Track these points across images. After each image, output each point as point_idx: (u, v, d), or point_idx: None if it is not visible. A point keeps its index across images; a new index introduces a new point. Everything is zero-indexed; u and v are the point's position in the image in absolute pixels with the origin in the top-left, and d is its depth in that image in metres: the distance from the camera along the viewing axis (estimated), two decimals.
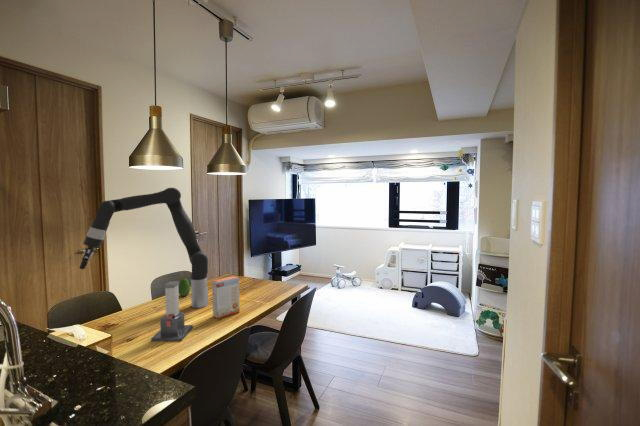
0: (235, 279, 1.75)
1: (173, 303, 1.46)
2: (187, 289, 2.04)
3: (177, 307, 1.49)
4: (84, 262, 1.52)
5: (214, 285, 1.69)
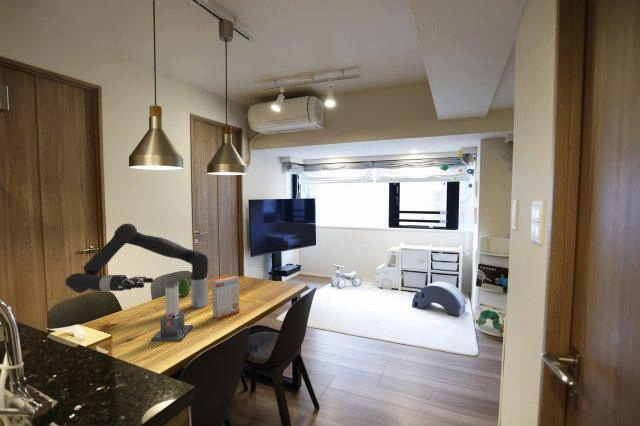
0: (235, 279, 1.75)
1: (173, 303, 1.46)
2: (187, 289, 2.04)
3: (177, 307, 1.49)
4: (134, 285, 1.42)
5: (214, 285, 1.69)
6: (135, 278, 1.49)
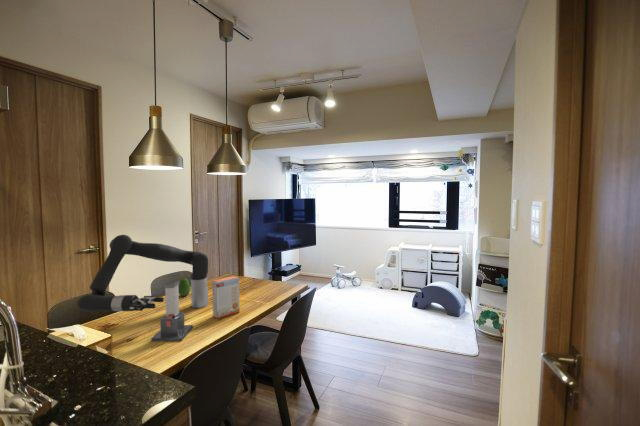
0: (235, 279, 1.75)
1: (173, 303, 1.46)
2: (187, 289, 2.04)
3: (177, 307, 1.49)
4: (146, 306, 1.43)
5: (214, 285, 1.69)
6: (146, 298, 1.50)
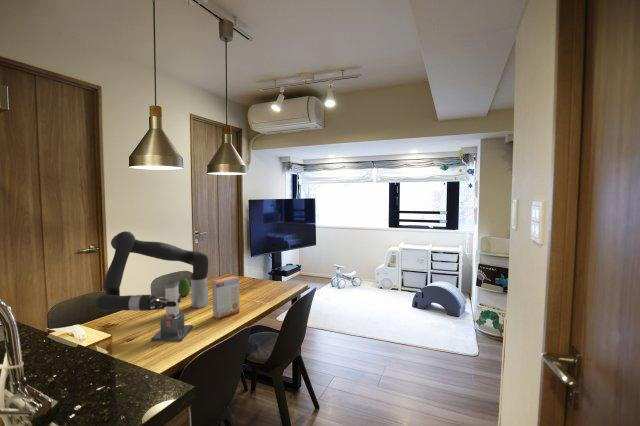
0: (235, 279, 1.75)
1: None
2: (187, 289, 2.04)
3: (177, 307, 1.49)
4: (167, 304, 1.45)
5: (214, 285, 1.69)
6: (162, 298, 1.49)
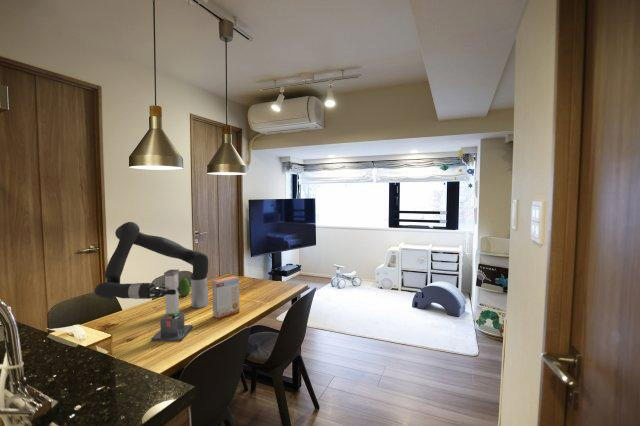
0: (235, 279, 1.75)
1: None
2: (187, 289, 2.04)
3: (177, 295, 1.49)
4: (167, 292, 1.44)
5: (214, 285, 1.69)
6: (162, 286, 1.49)
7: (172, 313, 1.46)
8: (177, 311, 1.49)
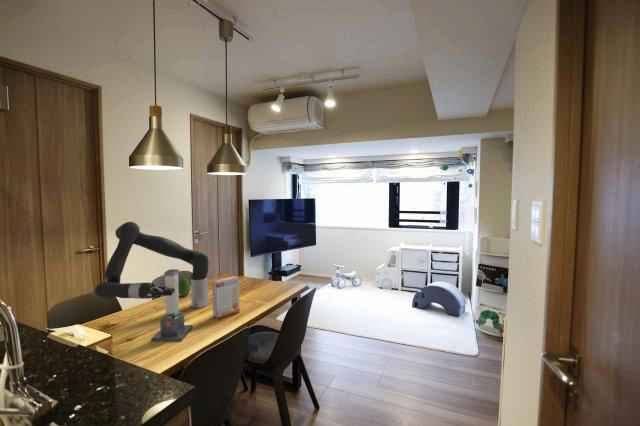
0: (235, 279, 1.75)
1: (173, 291, 1.46)
2: (187, 289, 2.04)
3: (177, 295, 1.49)
4: (163, 293, 1.43)
5: (214, 285, 1.69)
6: (162, 285, 1.50)
7: (172, 312, 1.46)
8: (177, 311, 1.49)
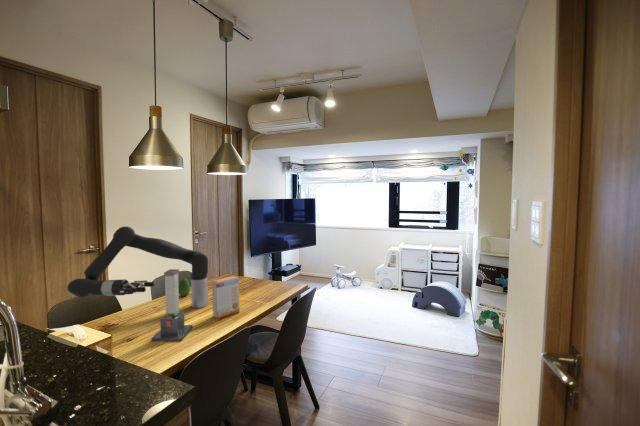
0: (235, 279, 1.75)
1: (173, 291, 1.46)
2: (187, 289, 2.04)
3: (177, 295, 1.49)
4: (136, 290, 1.43)
5: (214, 285, 1.69)
6: (136, 282, 1.50)
7: (172, 312, 1.46)
8: (177, 311, 1.49)
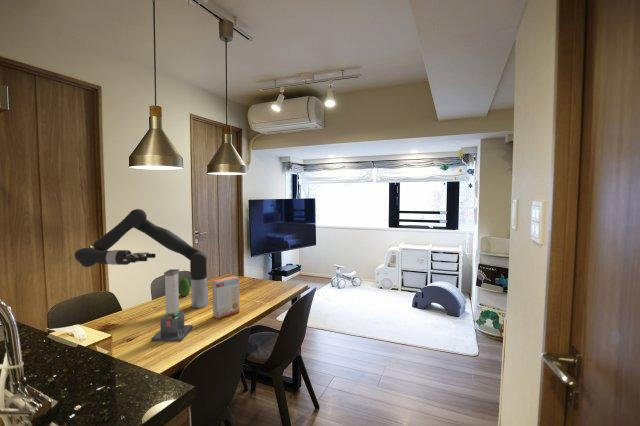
0: (235, 279, 1.75)
1: (173, 291, 1.46)
2: (187, 289, 2.04)
3: (177, 295, 1.49)
4: (138, 259, 1.52)
5: (214, 285, 1.69)
6: (139, 253, 1.59)
7: (172, 312, 1.46)
8: (177, 311, 1.49)
